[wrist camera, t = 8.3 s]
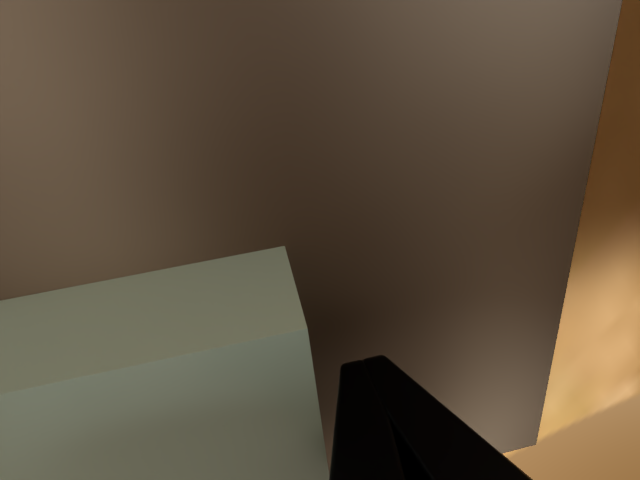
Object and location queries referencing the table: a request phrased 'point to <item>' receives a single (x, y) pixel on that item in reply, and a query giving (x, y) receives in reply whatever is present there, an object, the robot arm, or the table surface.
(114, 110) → the taupe pedestal platform
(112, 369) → the sage tile
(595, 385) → the table surface
